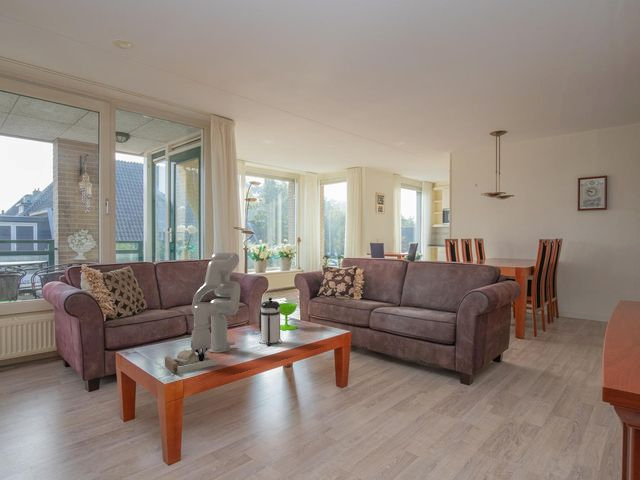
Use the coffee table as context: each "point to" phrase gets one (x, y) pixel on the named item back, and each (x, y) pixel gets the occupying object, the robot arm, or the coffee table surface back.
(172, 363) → the channel
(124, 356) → the coffee table surface
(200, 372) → the coffee table surface
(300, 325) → the coffee table surface
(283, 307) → the wineglass
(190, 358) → the fossil replica
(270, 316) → the coffee press
